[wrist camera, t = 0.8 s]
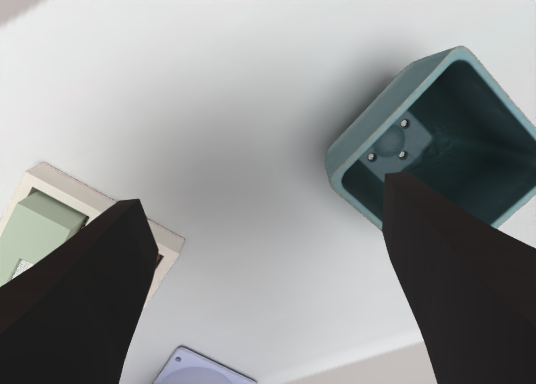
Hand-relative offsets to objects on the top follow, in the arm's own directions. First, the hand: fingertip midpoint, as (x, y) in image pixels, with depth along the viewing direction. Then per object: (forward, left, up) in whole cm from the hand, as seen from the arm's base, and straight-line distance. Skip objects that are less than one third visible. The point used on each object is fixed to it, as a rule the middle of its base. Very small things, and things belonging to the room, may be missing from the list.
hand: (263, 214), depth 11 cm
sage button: (-13, +8, -14) cm, 21 cm away
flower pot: (+4, -8, -16) cm, 19 cm away
